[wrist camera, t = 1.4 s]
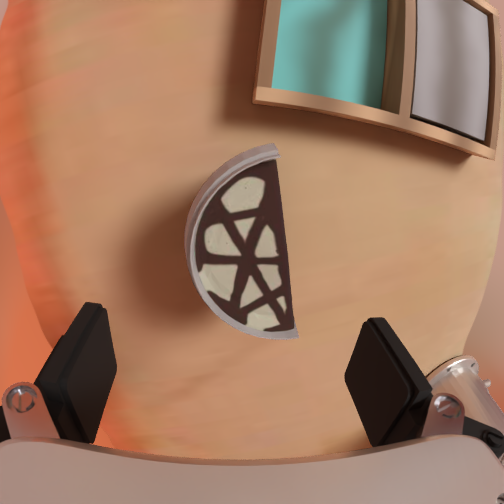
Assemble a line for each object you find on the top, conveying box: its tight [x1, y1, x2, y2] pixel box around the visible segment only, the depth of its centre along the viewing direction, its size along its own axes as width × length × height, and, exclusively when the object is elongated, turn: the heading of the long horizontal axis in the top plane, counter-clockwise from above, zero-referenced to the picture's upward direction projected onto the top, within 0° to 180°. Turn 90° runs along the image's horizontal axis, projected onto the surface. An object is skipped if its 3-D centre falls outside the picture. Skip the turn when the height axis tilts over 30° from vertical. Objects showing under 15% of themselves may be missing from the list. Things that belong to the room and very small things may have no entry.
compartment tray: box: [252, 0, 502, 160], centre depth 19 cm, size 23×17×4 cm
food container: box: [184, 143, 299, 340], centre depth 22 cm, size 12×6×10 cm, turn 8°
